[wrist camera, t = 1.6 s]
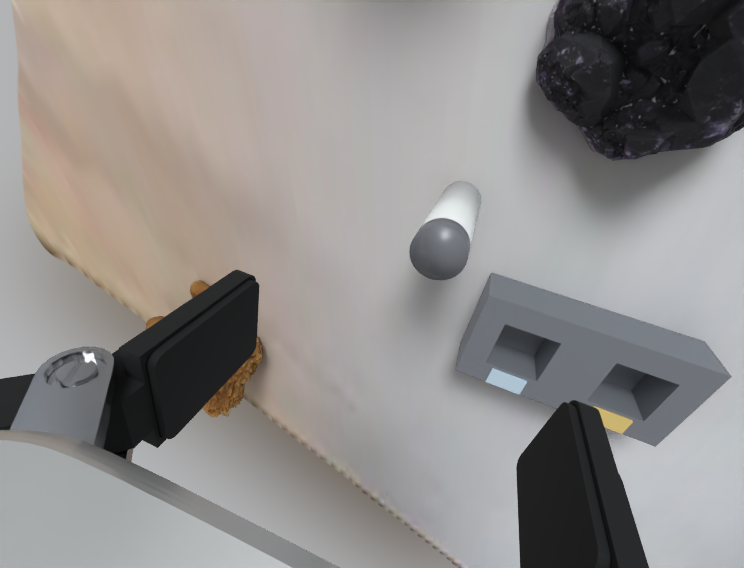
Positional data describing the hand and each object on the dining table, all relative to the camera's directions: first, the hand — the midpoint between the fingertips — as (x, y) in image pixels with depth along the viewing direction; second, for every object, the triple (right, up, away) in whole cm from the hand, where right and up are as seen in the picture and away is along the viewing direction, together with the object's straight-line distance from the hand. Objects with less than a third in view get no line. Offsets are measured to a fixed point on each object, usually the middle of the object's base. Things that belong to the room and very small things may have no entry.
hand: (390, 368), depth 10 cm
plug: (+7, +9, +18) cm, 21 cm away
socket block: (+17, -3, +21) cm, 27 cm away
